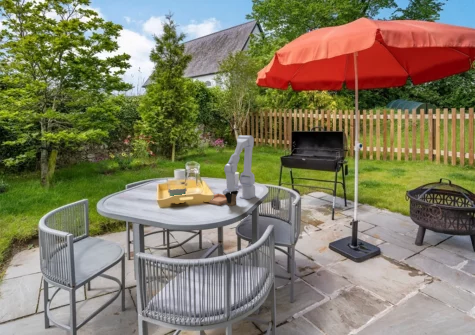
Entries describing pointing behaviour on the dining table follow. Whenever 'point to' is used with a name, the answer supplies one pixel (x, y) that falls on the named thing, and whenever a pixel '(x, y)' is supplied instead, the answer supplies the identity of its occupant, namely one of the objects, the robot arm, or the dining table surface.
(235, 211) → the dining table surface
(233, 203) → the walnut block
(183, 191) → the food container
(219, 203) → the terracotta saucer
